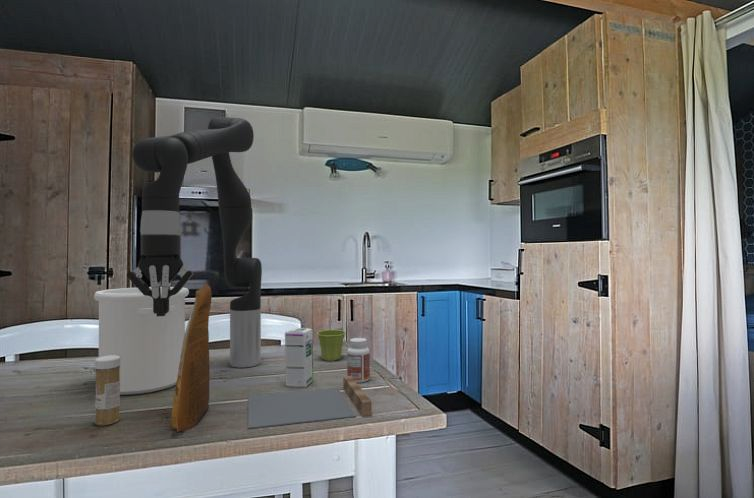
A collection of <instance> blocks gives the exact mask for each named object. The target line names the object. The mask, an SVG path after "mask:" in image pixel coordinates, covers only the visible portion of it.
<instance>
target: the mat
mask: <svg viewBox="0 0 754 498" xmlns="http://www.w3.org/2000/svg"><path fill="white" fill-rule="evenodd" d="M247 399H248V402H247V403H248V405H247V406H248V408H247V414H248V415H247V422H248V423H247V430H251V429H262V428H270V427H278V426H279V427H280V426H288V425H298V424H304V423H305V424H307V423H315V422H325V421H326V422H327V421H333V420H334V421H335V420H341V419H352V418H356V416H357V415H356V414H355V413H354V411H353V410H352V408H351V406H350V404H349V403H348V401H347V400H346V398H345V397H344V395H343V394H342V392H341V390H340V389H339V388H338V386H337V387H328V388H319V389H317V388H315V389H305V390H296V391H294V390H293V391H283V392H275V393H274V392H273V393H263V394H262V393H261V394H251V395H250V394H249V395H248V397H247Z"/></svg>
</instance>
